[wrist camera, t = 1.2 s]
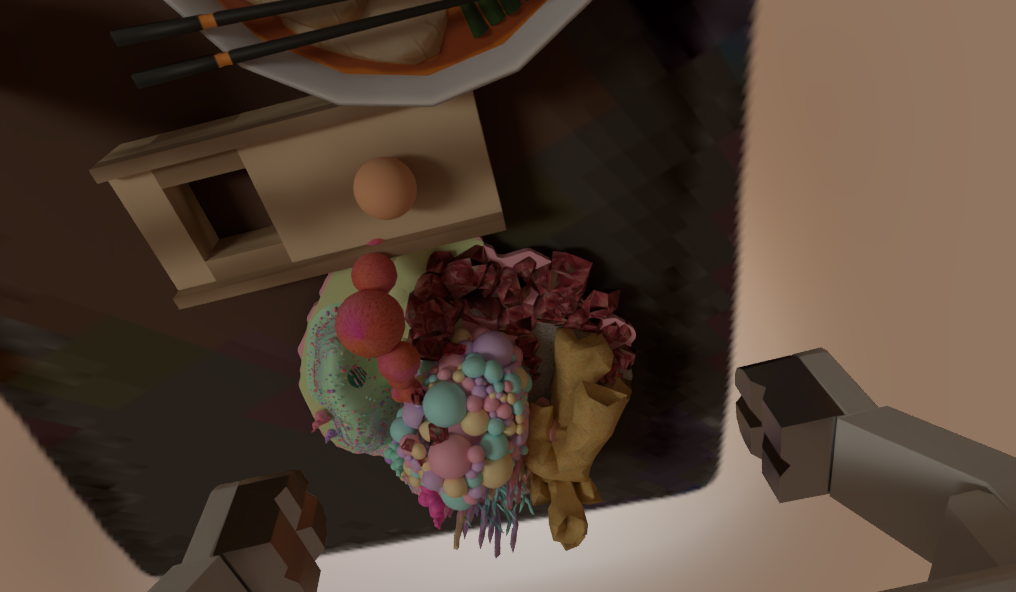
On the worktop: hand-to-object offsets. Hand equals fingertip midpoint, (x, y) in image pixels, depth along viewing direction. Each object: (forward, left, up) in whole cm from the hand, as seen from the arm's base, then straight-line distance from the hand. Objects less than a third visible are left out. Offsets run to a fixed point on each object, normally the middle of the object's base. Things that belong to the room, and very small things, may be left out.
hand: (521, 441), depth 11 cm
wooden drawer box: (+4, -10, -29) cm, 31 cm away
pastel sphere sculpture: (+22, -5, -27) cm, 35 cm away
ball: (+4, -6, -25) cm, 26 cm away
